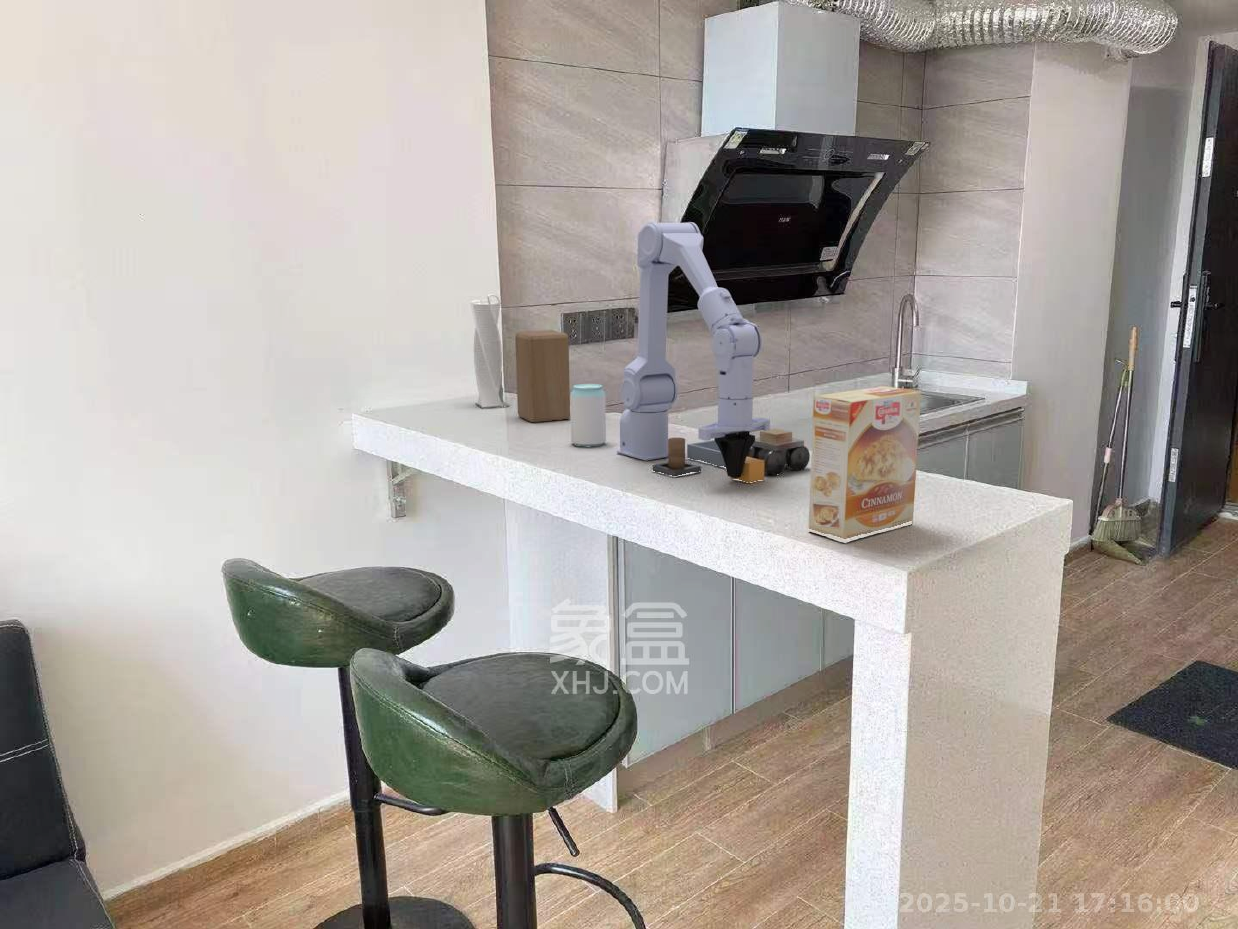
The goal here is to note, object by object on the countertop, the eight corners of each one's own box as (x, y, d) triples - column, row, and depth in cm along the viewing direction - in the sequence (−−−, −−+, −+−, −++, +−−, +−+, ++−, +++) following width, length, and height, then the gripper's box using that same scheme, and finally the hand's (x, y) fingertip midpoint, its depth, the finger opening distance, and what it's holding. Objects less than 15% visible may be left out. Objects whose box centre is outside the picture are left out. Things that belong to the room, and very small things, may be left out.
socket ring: (652, 471, 173) (652, 465, 173) (678, 466, 177) (678, 460, 176) (674, 477, 168) (674, 471, 168) (700, 472, 172) (700, 466, 172)
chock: (730, 479, 167) (731, 459, 166) (745, 475, 169) (745, 456, 168) (749, 483, 164) (749, 463, 163) (764, 480, 166) (764, 460, 165)
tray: (687, 458, 183) (687, 444, 182) (730, 451, 189) (730, 436, 189) (727, 469, 174) (727, 453, 174) (770, 460, 181) (771, 445, 180)
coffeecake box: (845, 545, 131) (851, 401, 126) (805, 532, 136) (810, 394, 132) (915, 525, 139) (924, 390, 135) (876, 514, 145) (882, 384, 140)
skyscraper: (511, 407, 242) (507, 293, 235) (479, 410, 239) (474, 294, 232) (502, 402, 249) (498, 292, 243) (471, 405, 246) (466, 292, 240)
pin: (664, 472, 173) (664, 438, 171) (677, 469, 175) (677, 436, 173) (675, 475, 170) (675, 441, 169) (688, 472, 172) (688, 439, 171)
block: (516, 416, 229) (513, 331, 224) (556, 413, 233) (554, 329, 229) (531, 423, 220) (528, 335, 216) (571, 420, 224) (570, 332, 220)
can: (611, 442, 199) (611, 384, 196) (596, 449, 193) (595, 388, 190) (581, 439, 202) (580, 382, 199) (565, 446, 195) (563, 387, 193)
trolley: (740, 470, 173) (740, 432, 172) (781, 462, 180) (782, 425, 178) (768, 477, 168) (769, 438, 166) (809, 468, 174) (811, 430, 173)
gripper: (719, 404, 154) (718, 487, 157) (783, 395, 162) (781, 474, 165) (690, 399, 160) (689, 479, 163) (754, 390, 168) (752, 467, 171)
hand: (734, 476), depth 164 cm, fingers closed
